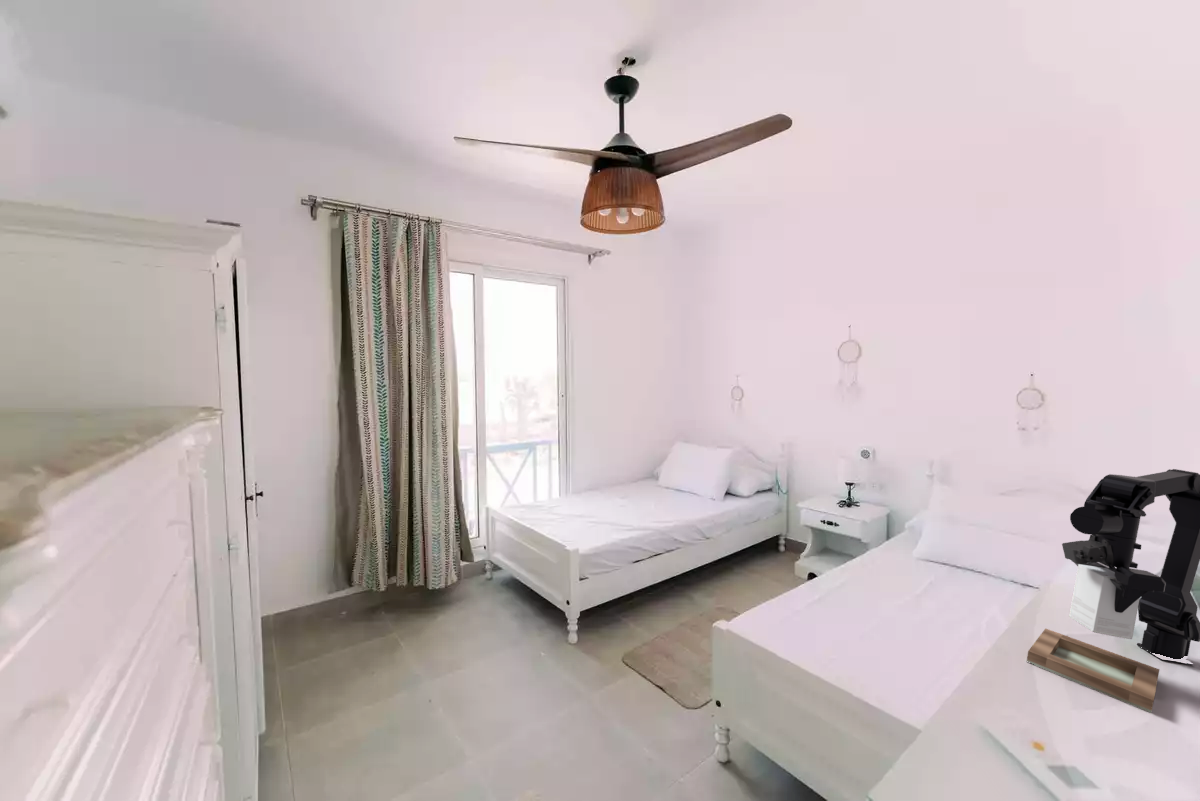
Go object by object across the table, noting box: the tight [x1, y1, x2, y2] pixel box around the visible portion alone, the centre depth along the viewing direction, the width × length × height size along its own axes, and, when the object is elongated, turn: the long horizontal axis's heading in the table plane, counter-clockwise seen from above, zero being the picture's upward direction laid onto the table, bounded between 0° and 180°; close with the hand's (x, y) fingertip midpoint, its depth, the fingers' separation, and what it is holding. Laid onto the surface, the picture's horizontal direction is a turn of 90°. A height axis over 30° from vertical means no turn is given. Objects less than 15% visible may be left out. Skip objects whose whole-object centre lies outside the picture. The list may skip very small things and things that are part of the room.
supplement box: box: [1068, 564, 1141, 640], centre depth 107 cm, size 7×7×13 cm
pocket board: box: [1026, 628, 1160, 714], centre depth 104 cm, size 18×18×2 cm
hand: (1103, 603), depth 107 cm, fingers closed on supplement box, 7 cm apart
